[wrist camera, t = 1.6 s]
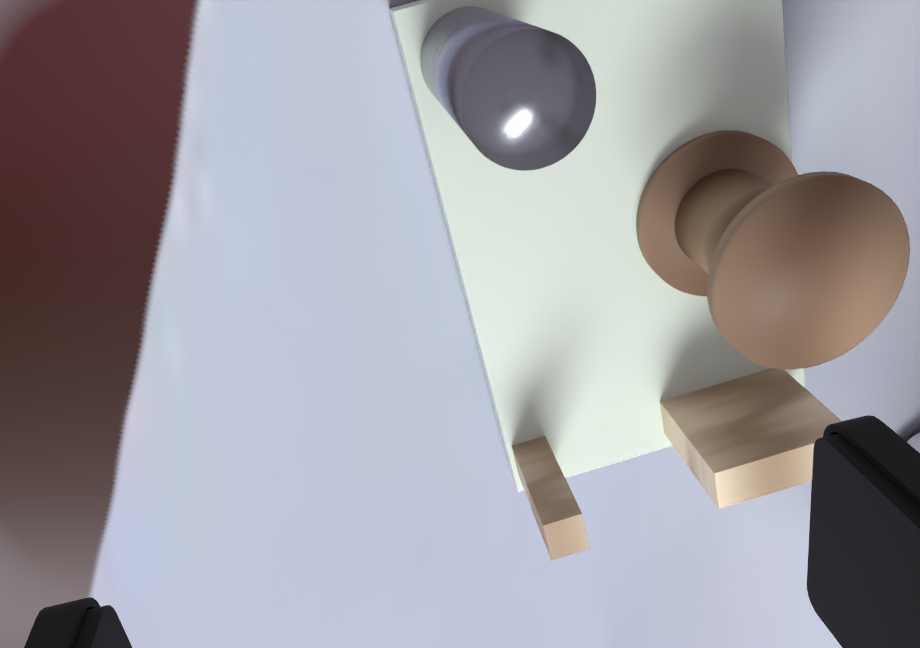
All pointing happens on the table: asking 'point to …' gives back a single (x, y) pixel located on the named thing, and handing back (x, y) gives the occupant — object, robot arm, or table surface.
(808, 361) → the bobbin
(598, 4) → the base board
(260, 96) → the table surface
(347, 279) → the table surface
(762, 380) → the notched rail
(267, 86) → the table surface
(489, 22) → the peg
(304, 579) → the table surface
